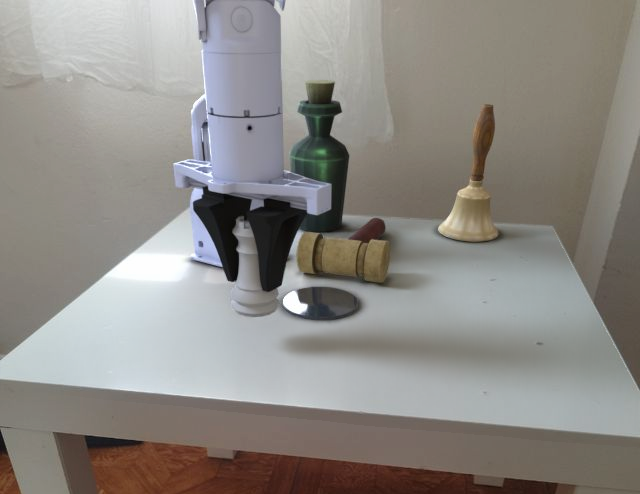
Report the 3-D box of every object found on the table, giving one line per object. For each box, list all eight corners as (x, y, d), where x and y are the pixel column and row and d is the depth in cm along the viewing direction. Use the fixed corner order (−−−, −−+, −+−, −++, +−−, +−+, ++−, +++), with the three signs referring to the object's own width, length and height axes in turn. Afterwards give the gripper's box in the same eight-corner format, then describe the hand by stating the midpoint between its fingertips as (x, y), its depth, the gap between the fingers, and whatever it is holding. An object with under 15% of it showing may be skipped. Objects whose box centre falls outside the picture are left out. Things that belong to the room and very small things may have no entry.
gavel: (348, 202, 86) (419, 209, 83) (346, 235, 88) (415, 243, 86) (295, 236, 69) (383, 246, 66) (295, 276, 71) (379, 288, 68)
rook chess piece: (234, 297, 57) (228, 210, 53) (282, 298, 57) (280, 211, 53) (227, 318, 54) (219, 226, 49) (278, 319, 54) (275, 228, 49)
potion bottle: (329, 237, 83) (331, 87, 73) (279, 227, 87) (275, 82, 76) (357, 222, 89) (363, 80, 79) (309, 213, 92) (309, 76, 82)
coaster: (267, 307, 64) (267, 305, 64) (309, 283, 70) (309, 281, 70) (332, 326, 61) (332, 323, 61) (371, 299, 66) (371, 297, 66)
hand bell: (509, 232, 86) (532, 104, 77) (479, 246, 81) (501, 111, 72) (457, 220, 90) (474, 98, 81) (426, 233, 85) (440, 104, 76)
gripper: (137, 109, 47) (161, 279, 55) (293, 129, 40) (296, 318, 48) (199, 99, 52) (214, 256, 60) (348, 115, 45) (342, 289, 53)
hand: (254, 282), depth 54 cm, fingers closed on rook chess piece, 3 cm apart
